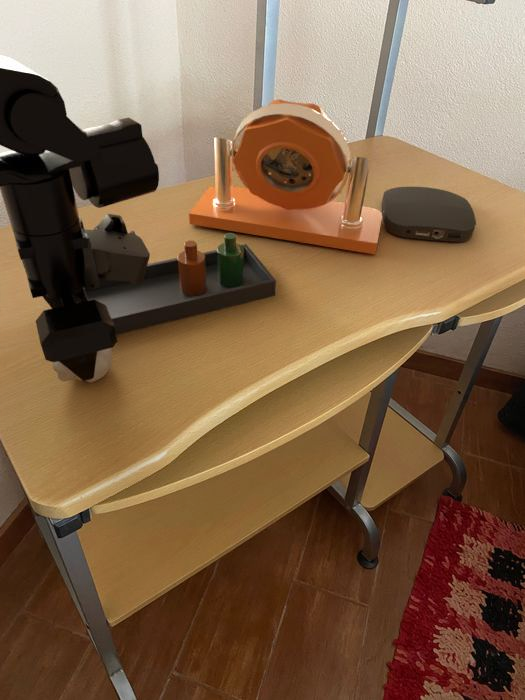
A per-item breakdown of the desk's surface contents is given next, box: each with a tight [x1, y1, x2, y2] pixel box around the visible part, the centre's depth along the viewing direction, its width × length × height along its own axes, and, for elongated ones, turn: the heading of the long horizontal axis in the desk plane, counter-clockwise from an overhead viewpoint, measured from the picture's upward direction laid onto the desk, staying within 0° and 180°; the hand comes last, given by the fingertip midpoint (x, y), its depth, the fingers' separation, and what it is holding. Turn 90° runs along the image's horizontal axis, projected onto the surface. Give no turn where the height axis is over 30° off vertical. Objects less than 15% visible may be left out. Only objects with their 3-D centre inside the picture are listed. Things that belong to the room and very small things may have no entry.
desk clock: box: [188, 98, 383, 255], centre depth 80 cm, size 12×30×20 cm, turn 76°
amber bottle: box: [177, 240, 206, 296], centre depth 70 cm, size 4×4×7 cm
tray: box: [84, 243, 277, 335], centre depth 71 cm, size 25×10×2 cm, turn 115°
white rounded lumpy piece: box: [51, 348, 113, 384], centre depth 57 cm, size 5×7×8 cm
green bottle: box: [216, 232, 244, 287], centre depth 72 cm, size 4×4×7 cm
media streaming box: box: [381, 186, 477, 243], centre depth 89 cm, size 15×15×3 cm
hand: (79, 351), depth 57 cm, fingers open, 9 cm apart
